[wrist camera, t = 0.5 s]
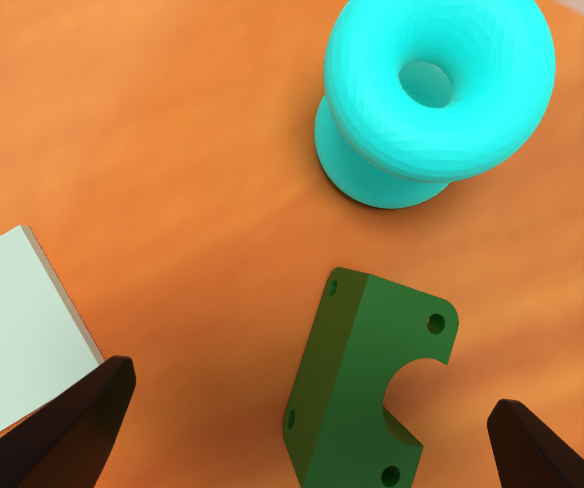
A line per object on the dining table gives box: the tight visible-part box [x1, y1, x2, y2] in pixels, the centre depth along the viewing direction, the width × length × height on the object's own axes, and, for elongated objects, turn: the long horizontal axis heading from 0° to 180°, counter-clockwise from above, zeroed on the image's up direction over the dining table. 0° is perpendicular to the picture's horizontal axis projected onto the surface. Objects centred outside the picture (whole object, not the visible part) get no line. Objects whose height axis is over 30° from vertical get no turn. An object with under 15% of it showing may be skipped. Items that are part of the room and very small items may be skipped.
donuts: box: [314, 0, 556, 209], centre depth 19 cm, size 10×10×10 cm
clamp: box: [283, 267, 459, 488], centre depth 20 cm, size 12×6×9 cm, turn 156°
